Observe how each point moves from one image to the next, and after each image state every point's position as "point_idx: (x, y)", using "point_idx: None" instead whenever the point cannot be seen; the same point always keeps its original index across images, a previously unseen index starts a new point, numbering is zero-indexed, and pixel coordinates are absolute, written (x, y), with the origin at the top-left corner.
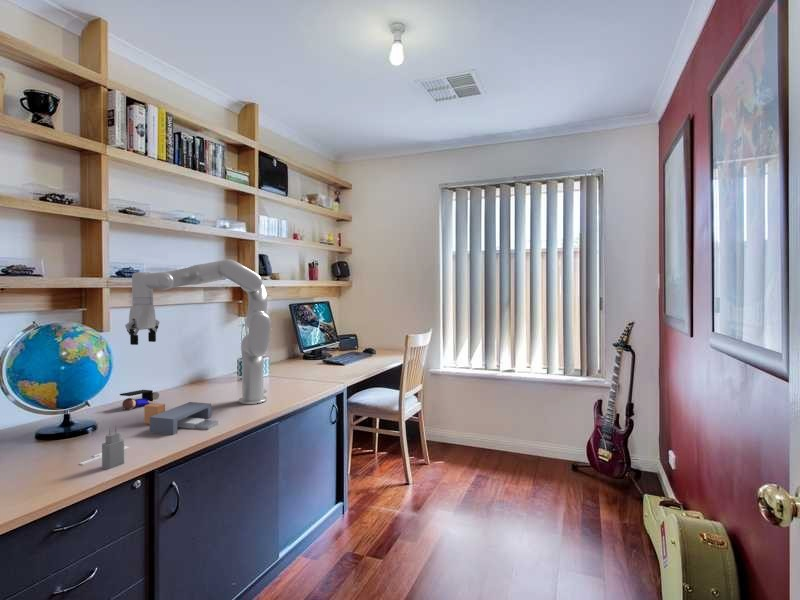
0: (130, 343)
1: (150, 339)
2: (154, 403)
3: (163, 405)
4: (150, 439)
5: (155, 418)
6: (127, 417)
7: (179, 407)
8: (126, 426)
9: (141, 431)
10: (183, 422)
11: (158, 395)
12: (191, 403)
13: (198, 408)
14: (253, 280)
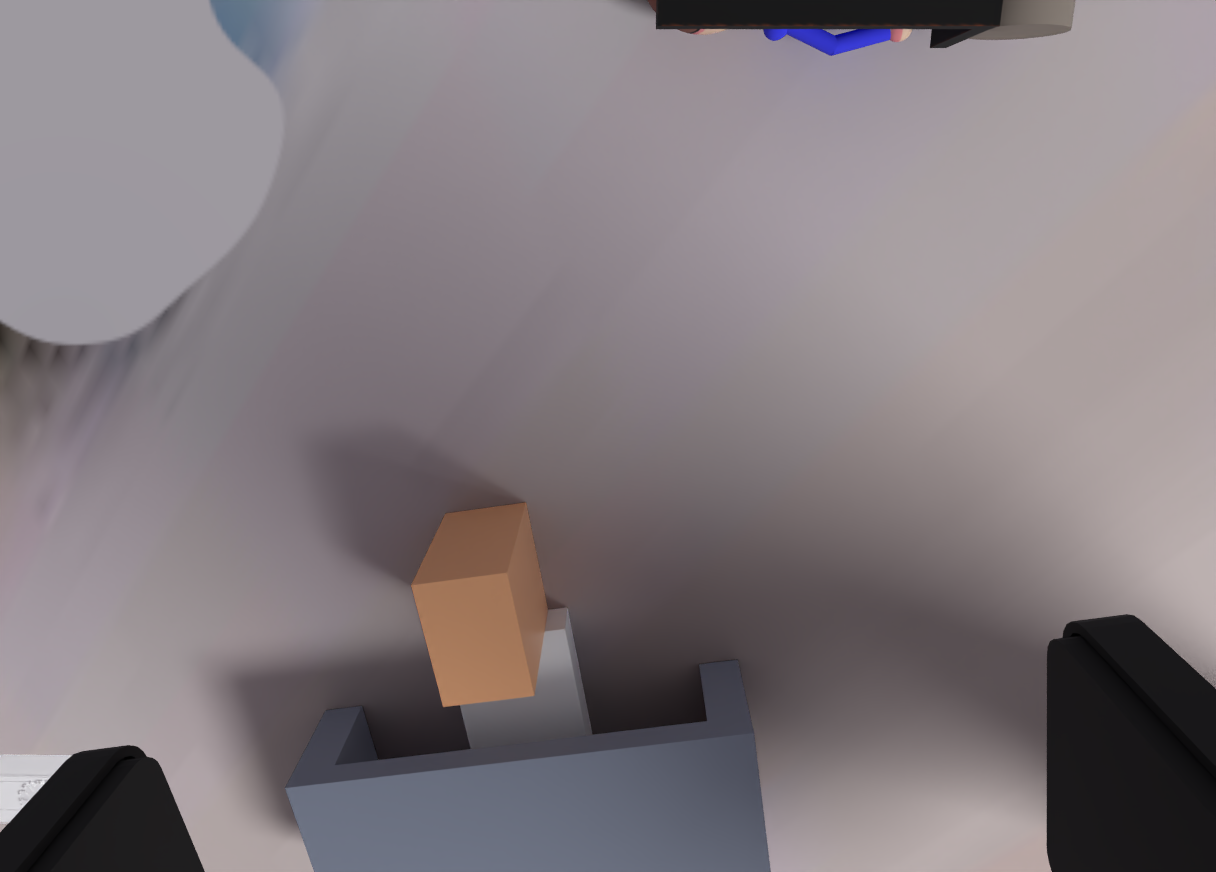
0: (61, 772)
1: (1094, 776)
2: (504, 605)
3: (515, 693)
4: (246, 807)
5: (301, 824)
6: (491, 238)
7: (579, 782)
8: (327, 458)
9: (311, 646)
10: None
11: (1052, 33)
12: (717, 777)
13: None
14: None
